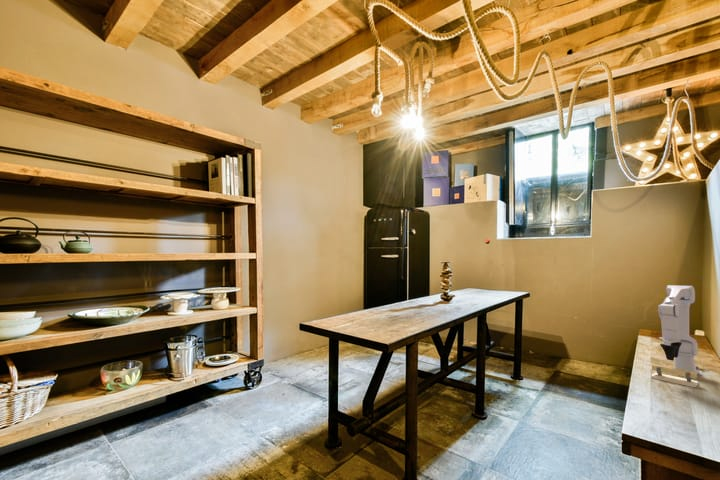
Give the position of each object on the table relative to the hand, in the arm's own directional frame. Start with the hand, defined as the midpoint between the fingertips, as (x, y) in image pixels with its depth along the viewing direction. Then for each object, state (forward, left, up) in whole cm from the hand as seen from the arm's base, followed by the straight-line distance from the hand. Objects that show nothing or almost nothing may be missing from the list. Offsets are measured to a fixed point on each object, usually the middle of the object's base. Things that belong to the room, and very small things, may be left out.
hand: (672, 358), depth 151 cm
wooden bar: (0, 0, -7) cm, 7 cm away
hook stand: (0, 0, -10) cm, 10 cm away
